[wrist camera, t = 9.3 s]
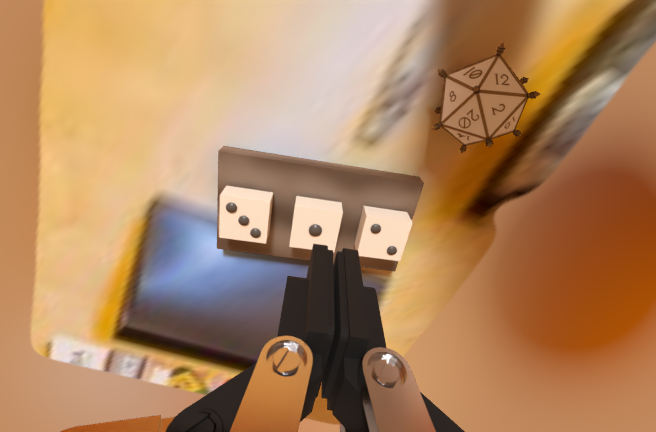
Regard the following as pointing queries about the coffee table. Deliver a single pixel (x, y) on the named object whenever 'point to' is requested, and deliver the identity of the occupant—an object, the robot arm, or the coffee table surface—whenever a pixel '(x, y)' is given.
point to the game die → (482, 101)
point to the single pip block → (315, 223)
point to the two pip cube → (382, 233)
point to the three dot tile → (245, 214)
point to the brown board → (312, 182)
